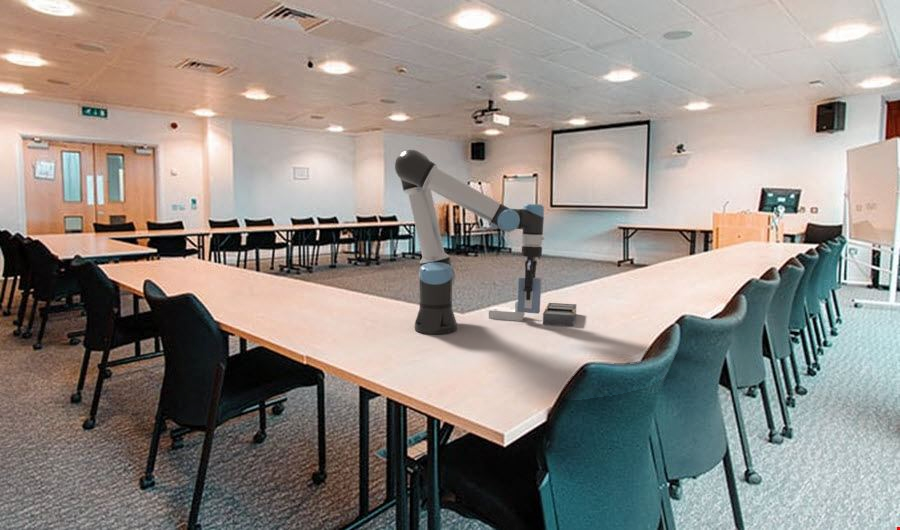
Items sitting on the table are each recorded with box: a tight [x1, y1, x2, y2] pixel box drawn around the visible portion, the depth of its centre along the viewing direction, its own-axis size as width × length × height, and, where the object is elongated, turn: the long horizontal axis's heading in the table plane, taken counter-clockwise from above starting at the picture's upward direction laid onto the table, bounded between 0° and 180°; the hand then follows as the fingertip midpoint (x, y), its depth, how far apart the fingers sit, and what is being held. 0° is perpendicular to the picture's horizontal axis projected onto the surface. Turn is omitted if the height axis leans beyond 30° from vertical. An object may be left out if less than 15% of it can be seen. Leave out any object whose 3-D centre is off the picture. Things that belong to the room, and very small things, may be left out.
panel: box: [517, 276, 543, 315], centre depth 203 cm, size 8×4×13 cm, turn 74°
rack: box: [542, 302, 577, 327], centre depth 210 cm, size 11×21×4 cm, turn 164°
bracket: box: [488, 300, 526, 322], centre depth 211 cm, size 13×7×8 cm, turn 73°
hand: (528, 306), depth 203 cm, fingers closed on panel, 3 cm apart
